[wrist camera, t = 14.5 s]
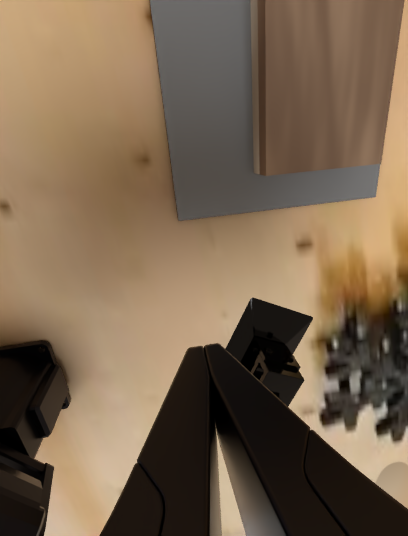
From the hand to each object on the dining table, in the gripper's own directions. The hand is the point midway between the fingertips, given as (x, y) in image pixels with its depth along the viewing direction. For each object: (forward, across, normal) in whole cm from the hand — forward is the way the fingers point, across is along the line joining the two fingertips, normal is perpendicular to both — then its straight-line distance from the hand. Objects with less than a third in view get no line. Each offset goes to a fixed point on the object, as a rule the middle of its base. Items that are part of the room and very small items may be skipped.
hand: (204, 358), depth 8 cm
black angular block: (+14, -5, +12) cm, 19 cm away
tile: (+11, -5, -8) cm, 15 cm away
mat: (+13, -7, -8) cm, 17 cm away
